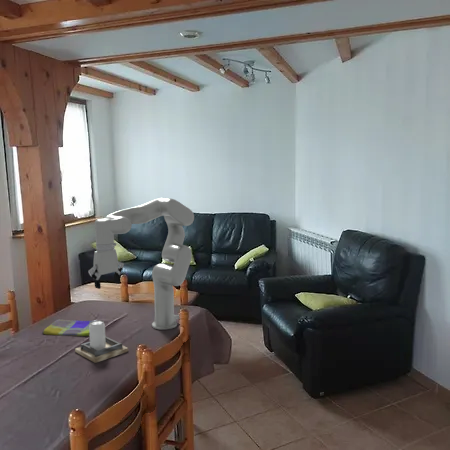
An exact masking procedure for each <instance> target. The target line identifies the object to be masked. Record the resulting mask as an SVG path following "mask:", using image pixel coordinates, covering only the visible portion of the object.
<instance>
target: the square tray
mask: <svg viewBox="0 0 450 450" xmlns="http://www.w3.org/2000/svg"><path fill="white" fill-rule="evenodd" d="M105 341H106V348H104V349H101V350H98V351H97V350H95V349H94V348H92V347H90V341H87V342H84V343H80V346H79V347H76V348H74V349H75V350H74V352H75V353H76V354H78V355H79V356H82V357H83V358H85V359H87V360H89V361H91V362H93V363H95V364H96V363H99V362H103V361H105V360H107V359H111V358H114V357H116V356H119V355H122V354H125V353H128V352H129V347H126V346H125V345H123V343H122V342H119V341H116V340H115V339H112V338H110V337H109V336H108V335H107V336H106V335H105Z"/></svg>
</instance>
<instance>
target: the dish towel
mask: <svg viewBox="0 0 450 450" xmlns="http://www.w3.org/2000/svg"><path fill="white" fill-rule="evenodd" d="M92 321H93V320H77V319H76V320H71V319H70V320H69V319H68V320H67V319H62V318H61V319H59V318H58V319H56V320H54V321H53V322H52V323H50V324H49V325H48V326H46V327H45V328H44V329H43V331H42V334H43V335H48V336H65V337H66V336H68V337H90V334H89V326H90V323H91V322H92Z"/></svg>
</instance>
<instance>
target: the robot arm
mask: <svg viewBox="0 0 450 450" xmlns="http://www.w3.org/2000/svg"><path fill="white" fill-rule="evenodd" d="M159 217H163V218H164V222H166V225H167V229H168V230H167V232H168V233H167V236H166V240H165V243H164V245H163V248H162V251H161V258H162V260H163V261H165V262H167V263H163V262H162V263H158V264H156V265H154V266H153V268H152V270H151V271H152V272H151V277H152V281H153V282H152V283H153V289H154V292H153V293H154V297H153V298H154V321H153V322H151V327H152V328H153V329H155V330H160V331H161V330H162V331H165V330H172V329H175V328H176V327H177V326H178V322H177V320H179V319H180V318H179V314H175V301H174V300H175V298H174V296H175V295H174V287H179V286H181V285H182V284H183V283H184V282H185V279H186V276H187V274H188V271H189V267H190V264H191V261H192V257H193V255H192V249H191V248H190V247H189V246H188V245H185V244H184V241H185V235H186V233H185V229H184V227H188V226H191V225H192V224H193V222H194V220H195V214H194V212H193V210H192V209H190V208H189V207H188V206H186V205H185V204H183V203H182V202H180V201H178V200H176V199H174V198H169V197H168V198H166V197H157V198H155V199H152V200H150V201H147V202H145V203H143V204H140V205H137V206H132V207H129V208H124V209H121V210H118V211H115V212H112V213H110V214H108V215H106V216H105V217H103V218H97V219H95V221H94V231H95V233H94V234H95V245H96V246H95V248H96V251H95V250H94V253H93V263H92V265H93V266H92V267H91V268H90V269H88V275H89V276H90V277H91V278H92V279H93V280H94V281H93V282H94V288H95V289H98V290H101V287H102V286H101V285H102V284H101V279H100V278H101V276H102V275H107V274H111V273H114V274H113V282H114V283H115V284H118V285H119V284H120V279H121V278H120V275H121V273H122V271H123V269H124V265H125V263H123V262H121V261H119V259H118V258H119V256H118V254H117V250H116V248H115V247H116V246H117V242H115V237H114V235H122V234H127V233H128V232H130V231H131V229H132V227H133V225H141V224H147V223H149V222H151V221H153V220H155V219H157V218H159ZM183 226H184V227H183ZM168 263H172V264H173V265H172V264H168Z"/></svg>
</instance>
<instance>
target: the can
mask: <svg viewBox="0 0 450 450" xmlns="http://www.w3.org/2000/svg"><path fill="white" fill-rule="evenodd" d="M91 321H92V322H91V323H90V326H89V334H90V335H89V342H90V347H92V348H94V349H95V350H97V351H98V350H101V349H104V348H106V341H105V337H106V324H105V321H103V320H100V319H96V320H91Z"/></svg>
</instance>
